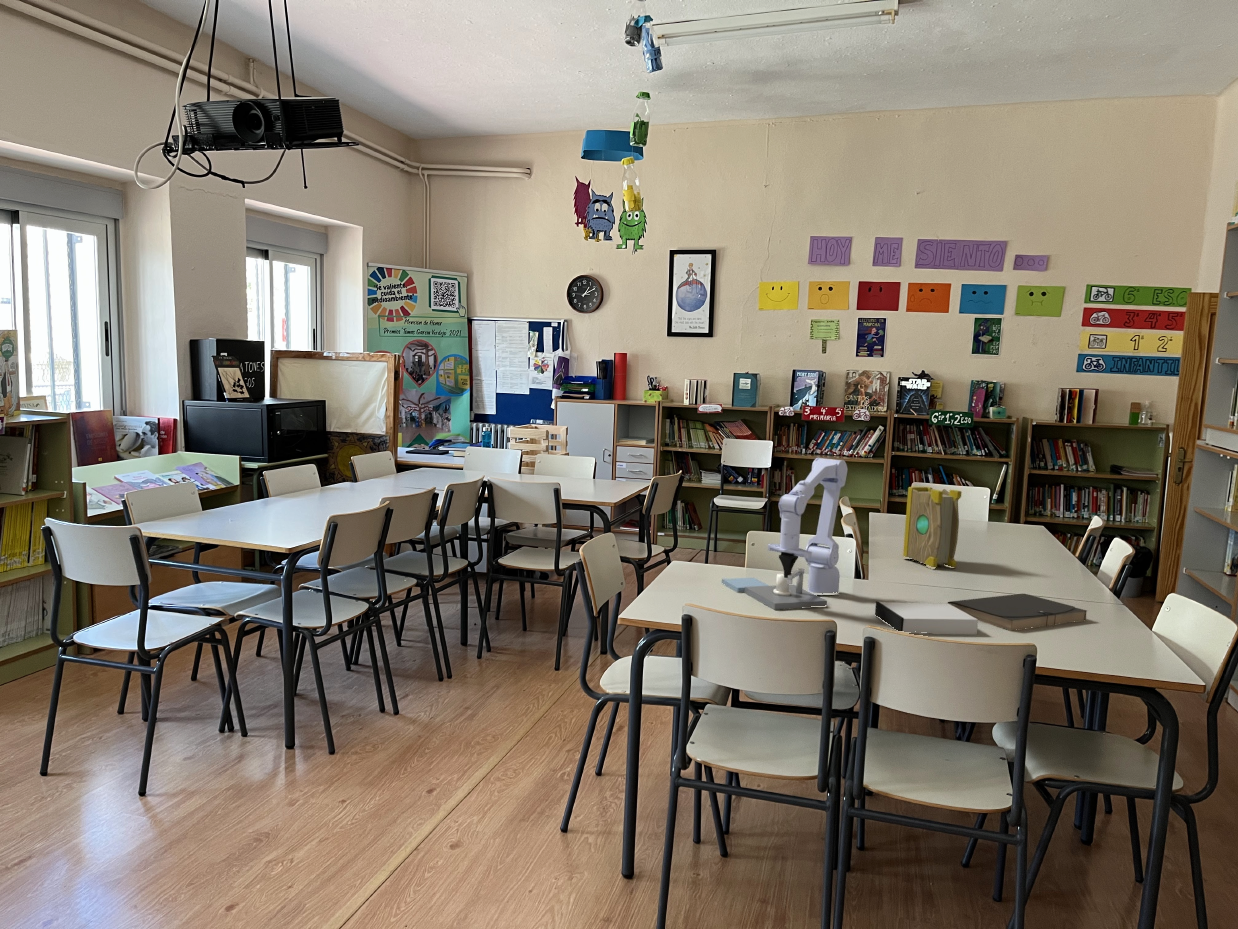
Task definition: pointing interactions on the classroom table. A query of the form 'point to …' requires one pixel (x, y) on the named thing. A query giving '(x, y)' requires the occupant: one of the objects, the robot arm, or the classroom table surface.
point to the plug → (782, 586)
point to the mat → (742, 583)
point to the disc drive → (926, 618)
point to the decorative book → (931, 525)
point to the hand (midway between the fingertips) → (787, 577)
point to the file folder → (1019, 611)
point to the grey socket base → (795, 600)
